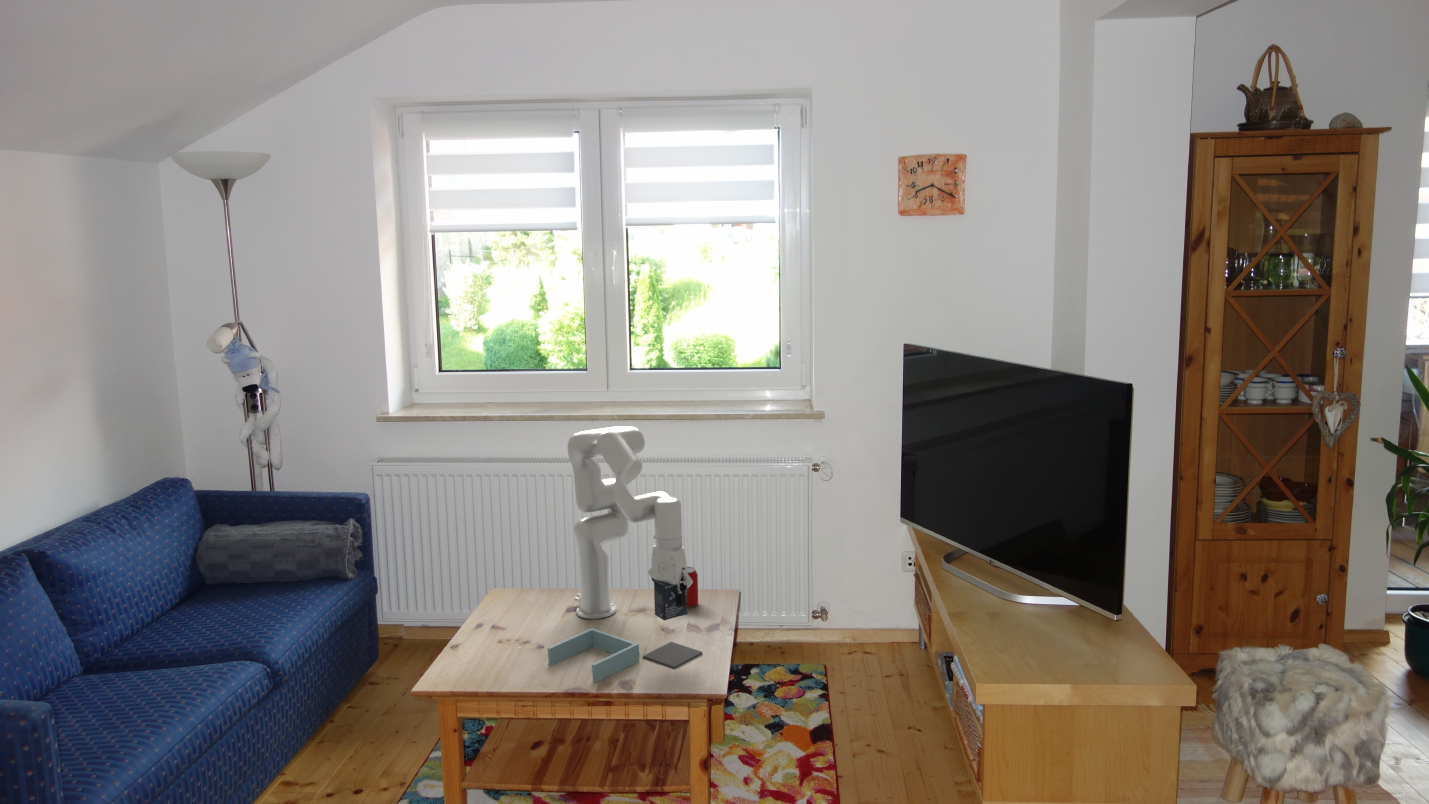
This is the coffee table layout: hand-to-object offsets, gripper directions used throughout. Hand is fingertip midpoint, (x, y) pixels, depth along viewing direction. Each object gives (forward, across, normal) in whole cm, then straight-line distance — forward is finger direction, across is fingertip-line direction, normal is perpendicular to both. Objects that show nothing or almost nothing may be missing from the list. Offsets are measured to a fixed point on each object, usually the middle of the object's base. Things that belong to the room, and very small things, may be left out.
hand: (671, 602), depth 264 cm
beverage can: (+16, -22, +32) cm, 42 cm away
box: (+4, 0, 0) cm, 4 cm away
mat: (+16, 0, 0) cm, 16 cm away
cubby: (+16, -15, -17) cm, 28 cm away
